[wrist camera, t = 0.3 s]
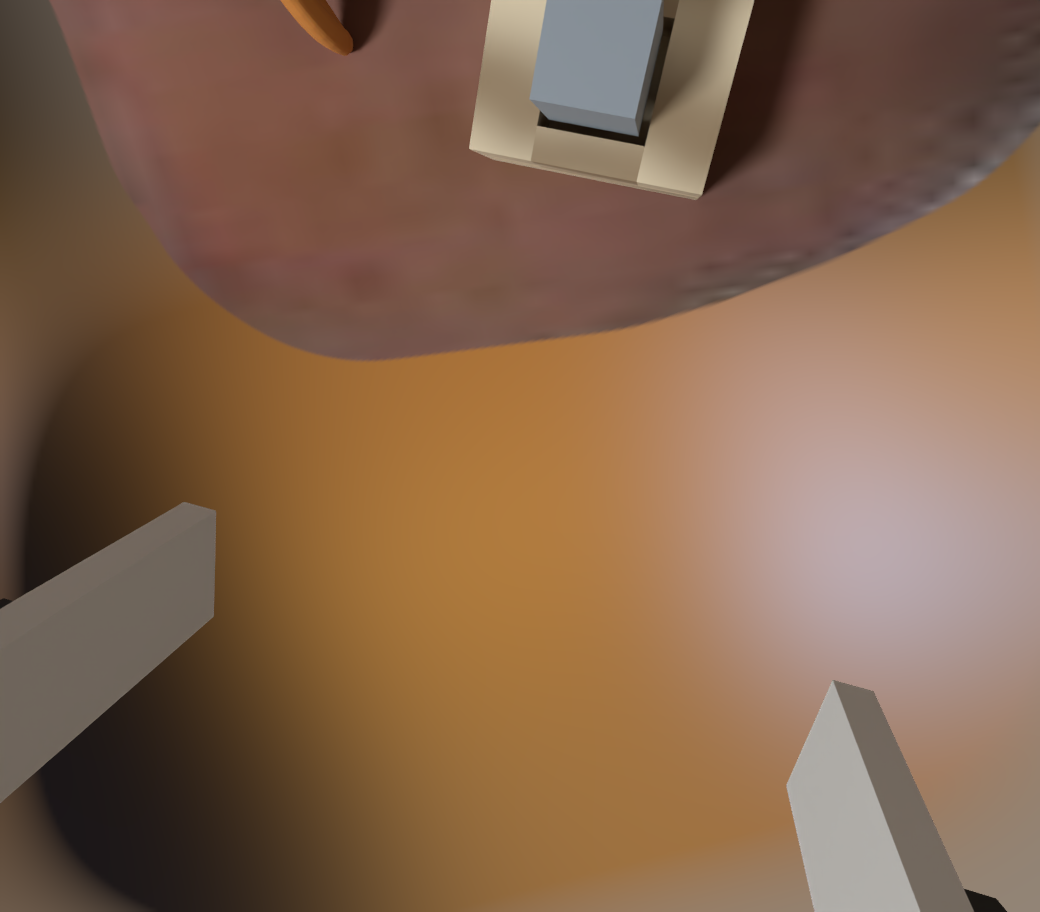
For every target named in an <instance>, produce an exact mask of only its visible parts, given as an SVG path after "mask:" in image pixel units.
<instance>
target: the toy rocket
mask: <svg viewBox="0 0 1040 912" xmlns="http://www.w3.org/2000/svg"><path fill="white" fill-rule="evenodd" d="M281 2H282V3H283V4H284V5H285V7H286V8H287V9H288V11H289V12H290V13H291V14H292V16H293V17H294V18H295V19H296V20H297V22H298V23H299V24H300V25H301V26H302V27H303V28H304V29H305V30H306V31H307V32H308V33H309V34H310V35H311V36H312V37H313V38H314V39H315V40H316V41H317V42H319V43H320V44H322V45H323V46H324V47H326V48H328V49H330V50H332V51H333V52H336V53H338V54H341V55H344V56H346V55H348V54H349V53H351V52H352V50H353V39H352V38H351V36H350V34H349V32H348V31H347V30H346V29H344V27H343V26H342V24H341V23H340V21H339V20H338V18H337V17H336V15H335V14H334V12H333V11H332V9H331V8H330V6H329V5H328V3H327V2H326V0H281Z"/></svg>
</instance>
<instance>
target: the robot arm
mask: <svg viewBox="0 0 1040 912" xmlns="http://www.w3.org/2000/svg"><path fill="white" fill-rule="evenodd" d="M215 531H216V511H215V510H211V509H208V508H204V507H200V506H197V505H193V504H189V503H186V502H183V503H182V504H180V505H178V506H177V507H175V508H173V509H172V510H170V511H168V512H166V513H165V514H163V515H161V516H159V517H158V518H156V519H154V520H152V521H151V522H149V523H147V524H146V525H144V526H142V527H140V528H139V529H137V530H135V531H134V532H132V533H130V534H128V535H127V536H125V537H123V538H121V539H120V540H118V541H116V542H115V543H113V544H111V545H109V546H108V547H106V548H104V549H103V550H101V551H99V552H97V553H96V554H94V555H92V556H90V557H89V558H87V559H85V560H84V561H82V562H80V563H79V564H77V565H75V566H74V567H72V568H70V569H68V570H66V571H65V572H63V573H61V574H60V575H58V576H56V577H54V578H53V579H51V580H49V581H47V582H46V583H44V584H42V585H41V586H39V587H37V588H35V589H34V590H32V591H30V592H28V593H27V594H25V595H23V596H22V597H20V598H18V599H16V600H15V601H10V600H7V599H1V600H0V803H1V802H2V801H3V800H4V799H5V798H6V797H7V796H8V795H10V794H11V793H12V792H13V791H14V790H15V789H17V788H18V787H19V786H20V785H21V784H22V783H23V782H25V781H26V780H27V779H28V778H29V777H30V776H31V775H33V774H34V773H35V772H36V771H37V770H38V769H40V768H41V767H42V766H43V765H44V764H45V763H46V762H48V761H49V760H50V759H51V758H52V757H53V756H54V755H55V754H57V753H58V752H59V751H60V750H61V749H62V748H64V747H65V746H66V745H67V744H68V743H69V742H70V741H72V740H73V739H74V738H75V737H76V736H77V735H78V734H80V733H81V732H82V731H83V730H84V729H85V728H86V727H87V726H89V725H90V724H91V723H92V722H93V721H94V720H95V719H97V718H98V717H99V716H100V715H101V714H102V713H104V712H105V711H106V710H107V709H108V708H109V707H110V706H111V705H113V704H114V703H115V702H116V701H117V700H118V699H120V698H121V697H122V696H123V695H124V694H125V693H126V692H128V691H129V690H130V689H131V688H132V687H133V686H134V685H136V684H137V683H138V682H139V681H140V680H141V679H142V678H144V677H145V676H146V675H147V674H148V673H149V672H150V671H152V669H154V668H155V667H156V666H157V665H158V664H160V663H161V662H162V661H163V660H164V659H165V658H166V657H168V656H169V655H170V654H171V653H172V652H173V651H174V650H176V649H177V648H178V647H179V646H180V645H181V644H182V643H184V641H186V640H187V639H188V638H189V637H190V636H192V635H193V634H194V633H195V632H196V631H197V630H198V629H200V628H201V627H202V626H203V625H204V624H205V623H206V622H208V621H209V620H210V619H211V618H212V617H213V616H214V578H215V534H216V533H215ZM787 791H788V795H789V800H790V804H791V809H792V813H793V817H794V821H795V827H796V831H797V835H798V840H799V844H800V849H801V853H802V858H803V862H804V867H805V871H806V875H807V880H808V884H809V889H810V893H811V898H812V902H813V907H814V911H815V912H1007V911H1006V910H1005V909H1004V907H1003V906H1002V905H1001V904H1000V903H999V902H998V900H997V899H996V898H992V897H989V896H986V895H982V894H979V893H976V892H973V891H969V890H966V889H964V888H963V886H962V884H961V882H960V880H959V877H958V875H957V873H956V871H955V869H954V867H953V864H952V862H951V860H950V858H949V856H948V854H947V851H946V849H945V847H944V845H943V842H942V840H941V838H940V836H939V834H938V831H937V829H936V827H935V825H934V823H933V820H932V818H931V816H930V814H929V812H928V810H927V808H926V805H925V803H924V801H923V799H922V796H921V794H920V792H919V790H918V788H917V785H916V784H915V781H914V779H913V777H912V775H911V773H910V770H909V768H908V766H907V764H906V761H905V759H904V757H903V755H902V753H901V751H900V748H899V746H898V744H897V742H896V739H895V737H894V735H893V733H892V731H891V729H890V726H889V724H888V722H887V720H886V718H885V715H884V713H883V711H882V709H881V707H880V704H879V702H878V700H877V698H876V696H875V693H874V692H873V691H871V690H867V689H863V688H860V687H856V686H852V685H849V684H845V683H841V682H838V681H834V680H833V681H832V683H831V685H830V688H829V690H828V692H827V695H826V697H825V699H824V701H823V704H822V706H821V708H820V710H819V713H818V715H817V717H816V719H815V722H814V724H813V726H812V728H811V731H810V733H809V735H808V737H807V740H806V742H805V744H804V747H803V749H802V751H801V753H800V756H799V758H798V760H797V763H796V765H795V767H794V769H793V772H792V774H791V776H790V778H789V781H788V783H787Z"/></svg>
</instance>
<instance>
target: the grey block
mask: <svg viewBox="0 0 1040 912" xmlns="http://www.w3.org/2000/svg"><path fill="white" fill-rule="evenodd" d="M663 9H664V0H547V2H546V7H545V13H544V19H543V25H542V30H541V36H540V42H539V47H538V53H537V59H536V64H535V70H534V76H533V81H532V87H531V93H530V100H531V102H532V103H533V104H534V105H535V106H536V107H537V108H538V109H539V110H540V111H541V112H542V113H543V114H544V115H545V116H546V117H547V118H548V119H549V120H554V121H559V122H564V123H570V124H575V125H580V126H586V127H591V128H596V129H601V130H607V131H612V132H617V133H623V134H628V135H633V136H638V137H639V133H640V128H641V124H642V120H643V115H644V111H645V107H646V102H647V98H648V94H649V89H650V85H651V81H652V76H653V72H654V68H655V63H656V59H657V55H658V51H659V46H660V42H661V38H662V33H663Z"/></svg>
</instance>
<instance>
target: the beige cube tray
mask: <svg viewBox="0 0 1040 912" xmlns="http://www.w3.org/2000/svg"><path fill="white" fill-rule="evenodd" d="M546 2H547V0H491V7H490V13H489V20H488V27H487V33H486V40H485V47H484V53H483V60H482V66H481V73H480V80H479V86H478V93H477V100H476V106H475V113H474V120H473V126H472V133H471V139H470V146H469V149H470V150H473V151H475V152H477V153H480V154H482V155H484V156H486V157H489V158H491V159H493V160H497V161H502V162H507V163H512V164H517V165H522V166H528V167H533V168H538V169H543V170H548V171H553V172H558V173H563V174H568V175H573V176H578V177H583V178H588V179H593V180H598V181H603V182H608V183H613V184H618V185H623V186H628V187H633V188H638V189H643V190H648V191H653V192H658V193H663V194H668V195H674V196H679V197H684V198H689V199H694V200H697V199H698V198H699V197H700V196H701V195H702V193H703V189H704V185H705V182H706V178H707V174H708V171H709V167H710V163H711V160H712V156H713V152H714V148H715V145H716V141H717V137H718V134H719V130H720V126H721V122H722V119H723V115H724V111H725V108H726V104H727V100H728V96H729V93H730V89H731V85H732V82H733V78H734V74H735V70H736V67H737V63H738V59H739V56H740V52H741V48H742V44H743V41H744V37H745V33H746V30H747V26H748V22H749V18H750V15H751V11H752V7H753V4H754V0H664V9H663V33H662V38H661V42H660V46H659V51H658V55H657V59H656V63H655V68H654V72H653V76H652V81H651V85H650V89H649V94H648V98H647V102H646V107H645V111H644V115H643V120H642V124H641V128H640V133H639V137H638V136H633V135H628V134H623V133H617V132H612V131H607V130H601V129H596V128H591V127H586V126H580V125H575V124H570V123H564V122H559V121H554V120H549V119H548V118H547V117H546V116H545V115H544V114H543V113H542V112H541V111H540V110H539V109H538V108H537V107H536V106H535V105H534V104H533V103H532V102H531V100H530V93H531V87H532V81H533V76H534V70H535V64H536V59H537V53H538V47H539V42H540V36H541V30H542V25H543V19H544V13H545V7H546Z"/></svg>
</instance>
